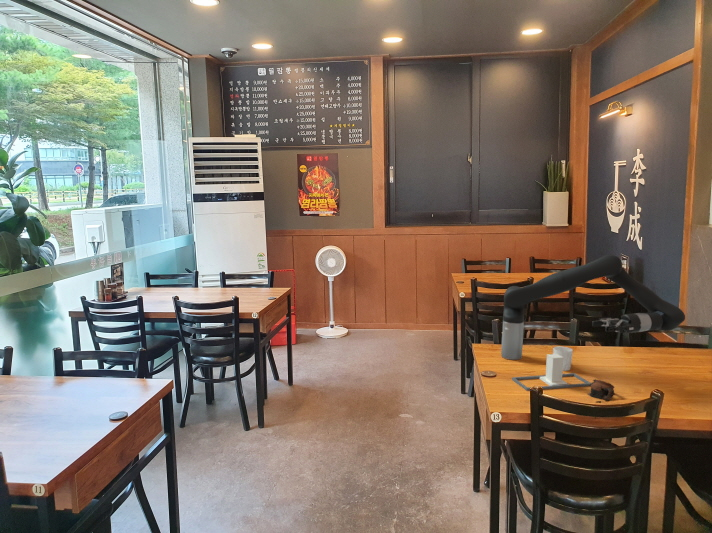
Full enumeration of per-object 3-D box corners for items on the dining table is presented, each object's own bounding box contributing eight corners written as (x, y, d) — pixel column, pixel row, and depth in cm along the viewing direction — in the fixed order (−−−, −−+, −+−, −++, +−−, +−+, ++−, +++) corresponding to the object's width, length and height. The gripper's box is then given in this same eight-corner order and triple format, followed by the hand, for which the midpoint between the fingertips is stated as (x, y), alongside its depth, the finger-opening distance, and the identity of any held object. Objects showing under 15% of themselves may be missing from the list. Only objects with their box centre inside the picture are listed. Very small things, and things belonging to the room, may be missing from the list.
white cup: (568, 368, 233) (569, 346, 231) (573, 374, 225) (575, 352, 224) (549, 367, 234) (551, 346, 232) (554, 374, 226) (555, 351, 224)
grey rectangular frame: (511, 383, 215) (511, 377, 215) (573, 378, 221) (574, 373, 220) (526, 394, 204) (526, 388, 203) (591, 389, 209) (592, 383, 209)
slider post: (539, 379, 216) (541, 352, 214) (555, 377, 217) (556, 351, 215) (551, 387, 207) (553, 360, 205) (568, 385, 208) (569, 359, 207)
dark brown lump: (579, 397, 203) (586, 376, 204) (600, 406, 204) (606, 386, 206) (600, 401, 191) (607, 379, 193) (622, 411, 192) (628, 389, 194)
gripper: (623, 309, 221) (588, 313, 218) (648, 317, 207) (610, 321, 204) (623, 327, 222) (588, 331, 219) (647, 336, 208) (610, 340, 205)
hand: (599, 326), depth 212 cm, fingers open, 8 cm apart
